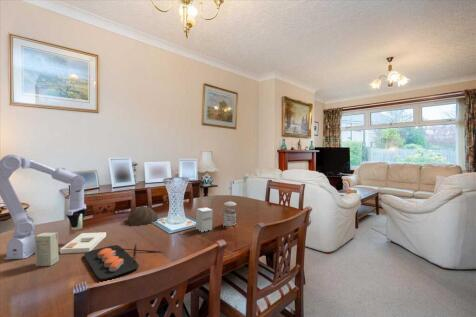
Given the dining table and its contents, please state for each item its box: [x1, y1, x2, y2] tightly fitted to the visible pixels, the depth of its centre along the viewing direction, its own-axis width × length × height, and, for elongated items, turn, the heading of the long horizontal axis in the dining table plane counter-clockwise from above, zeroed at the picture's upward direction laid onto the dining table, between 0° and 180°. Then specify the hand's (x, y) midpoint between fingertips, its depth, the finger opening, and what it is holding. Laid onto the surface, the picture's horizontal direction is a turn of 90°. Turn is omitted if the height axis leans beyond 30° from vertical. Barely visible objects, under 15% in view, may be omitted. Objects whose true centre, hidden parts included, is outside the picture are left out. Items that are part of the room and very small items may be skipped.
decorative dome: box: [126, 206, 159, 227], centre depth 150 cm, size 19×20×10 cm
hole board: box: [59, 232, 107, 255], centre depth 112 cm, size 20×12×2 cm, turn 11°
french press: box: [219, 186, 237, 226], centre depth 147 cm, size 10×12×25 cm
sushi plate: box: [83, 244, 162, 280], centre depth 100 cm, size 29×30×4 cm
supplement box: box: [195, 207, 213, 233], centre depth 137 cm, size 7×7×13 cm
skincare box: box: [34, 232, 60, 267], centre depth 93 cm, size 6×4×12 cm
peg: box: [70, 214, 83, 231], centre depth 114 cm, size 4×4×7 cm
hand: (77, 225), depth 114 cm, fingers closed on peg, 4 cm apart
